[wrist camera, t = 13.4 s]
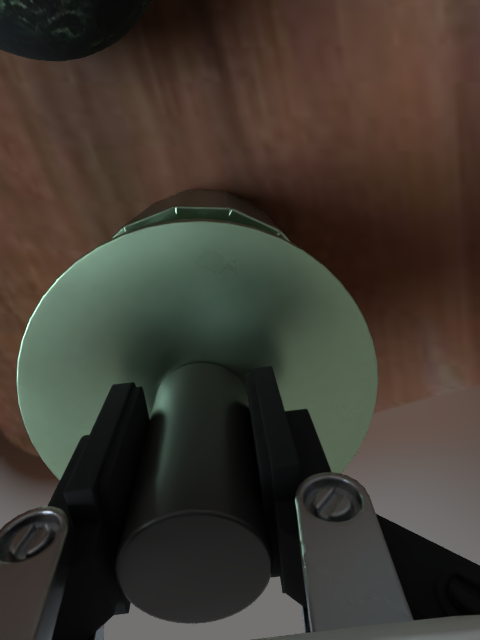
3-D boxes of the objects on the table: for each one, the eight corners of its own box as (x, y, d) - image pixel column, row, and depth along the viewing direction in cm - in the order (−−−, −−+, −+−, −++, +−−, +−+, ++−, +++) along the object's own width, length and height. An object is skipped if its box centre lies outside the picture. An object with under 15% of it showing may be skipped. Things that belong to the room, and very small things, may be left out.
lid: (-5, 460, 14) (-177, 695, 8) (91, 147, 11) (-76, 125, 5) (277, 541, 16) (317, 776, 10) (429, 302, 13) (627, 429, 7)
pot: (96, 320, 25) (42, 397, 17) (154, 157, 21) (120, 156, 14) (247, 376, 27) (262, 468, 19) (320, 234, 23) (374, 273, 16)
